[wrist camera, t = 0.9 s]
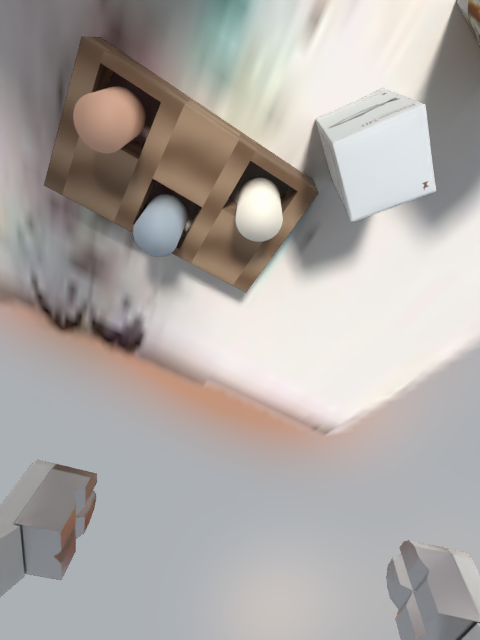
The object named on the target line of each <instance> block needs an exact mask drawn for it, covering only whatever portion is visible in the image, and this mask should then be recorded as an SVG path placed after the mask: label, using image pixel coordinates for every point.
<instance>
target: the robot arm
mask: <svg viewBox="0 0 480 640" xmlns="http://www.w3.org/2000/svg"><path fill="white" fill-rule="evenodd" d="M96 483H97V474H96V473H92V472H88V471H83V470H80V469H75V468H71V467H67V466H63V465H59V464H55V463H50V462H46V461H41V460H36V461H35V462H34V463H32V464H31V465H30V466H29V468H28V469H27V470H26V472H25V473H24V474H23V476H22V477H21V478H20V480H19V481H18V482H17V484H16V485H15V486H14V488H13V489H12V490H11V492H10V493H9V494H8V496H7V497H6V498H5V499H4V501H3V502H2V504H1V505H0V597H1V596H2V595H3V594H5V593H6V592H7V591H8V590H9V589H11V588H12V587H13V586H14V585H15V584H16V583H17V582H19V581H20V580H21V579H22V578H24V576H25V574H29V575H34V576H40V577H46V578H51V579H57V580H62V578H63V576H64V574H65V572H66V570H67V568H68V566H69V564H70V561H71V560H72V558H73V555H74V553H75V551H76V550H75V549H76V539H77V538H78V537H80V536H81V535H82V534H84V532H85V530H86V528H87V526H88V524H89V522H90V519H91V516H92V513H93V510H94V507H95V502H96V493H95V492H94V491H93V489H94V487H95V485H96ZM400 551H401V554H400V555H398V556H396V557H393V558H392V560H391V561H390V563H389V565H388V569H387V576H386V578H387V587H388V591H389V595H390V599H391V600H392V601H393V603H394V604H395V605H396V607H397V608H398V609H399V611H398V613H397V616H396V623H397V627H398V630H399V634H400V638H401V640H480V575H479V573H478V571H477V569H476V567H475V565H474V563H473V561H472V559H471V558H470V556H469V555H468V554H467V553H465V552H462V551H456V550H452V549H446V548H444V547H440V546H435V545H430V544H425V543H420V542H415V541H410V540H408V541H405V542H403V544H402V545H401V546H400Z"/></svg>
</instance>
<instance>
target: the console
mask: <svg viewBox="0 0 480 640" xmlns="http://www.w3.org/2000/svg"><path fill="white" fill-rule="evenodd" d="M113 71H114V72H115V73H117V74H118V75H120V76H121V77H123V78H124V79H126V80H127V81H129V82H130V83H132V84H134V85H135V86H137V87H138V88H140V89H141V90H143V91H144V92H146V93H147V94H149V95H150V96H152V97H154V98H155V99H157V100H158V101H160V102H161V104H160V106H159V109H158V112H157V114H156V117H155V119H154V122H153V124H152V127H151V129H150V132H149V134H148V137H147V139H146V142H145V144H144V146H142V145H141V144H139V143H137V142H136V141H134V140H131V141H130V142H129V143H127V144H126V145H125V146H123V147H122V148H121V149H119V150H118V151H116V152H113V153H100V152H97V151H95V150H93V149H91V148H90V147H89V146H87V145H86V144H85V143H84V142H83V140H82V139H81V138H80V136H79V135H78V133H77V131H76V128H75V125H74V120H73V112H74V108H75V105H76V103H77V101H78V100H79V99H80V98H81V97H82V96H84V95H86V94H89V93H92V92H96V91H99V90H103V89H106V88H108V86H109V82H110V79H111V76H112V73H113ZM250 161H252V162H253V163H255V164H256V165H258V166H259V167H261V168H263V169H264V170H266V171H267V172H269V173H270V174H272V175H273V176H275V177H276V178H278V179H279V180H281V181H283V182H284V183H286V184H287V185H289V186H290V187H289V189H288V190H287V192H286V193H285V194H284V196H283V197H282V199H281V208H282V216H283V222H282V226H281V228H280V230H279V232H278V233H277V234H276V235H275V236H274V237H273V238H271V239H269V240H266V241H262V242H256V241H251V240H249V239H247V238H245V237H244V236H243V235H242V234H241V233H240V232H239V230H238V228H237V226H236V220H235V219H236V211H237V204H238V203H236V202H235V201H233V200H231V199H230V198H229V197H230V195H231V193H232V191H233V190H234V188H235V186H236V185H237V183H238V181H239V179H240V178H241V176H242V174H243V173H244V171H245V169H246V167H247V166H248V164H249V162H250ZM155 181H158V182H159V183H161V184H163V185H165V186H166V187H168V188H170V189H171V190H173V191H175V192H177V193H178V194H180V195H182V196H183V197H185V198H187V199H189V200H190V201H192V202H194V203H195V204H197V205H199V206H200V208H199V210H198V212H197V214H196V216H195V217H194V219H193V221H192V223H191V225H190V227H189V229H188V230H187V232H186V233H184V232H182V235H181V237H180V239H179V242H178V244H177V246H176V248H175V250H174V251H173V252H172V254H174V255H176V256H178V257H180V258H182V259H184V260H186V261H188V262H189V263H191V264H193V265H195V266H197V267H199V268H201V269H203V270H205V271H206V272H208V273H210V274H212V275H214V276H216V277H218V278H220V279H221V280H223V281H225V282H227V283H229V284H231V285H233V286H235V287H237V288H238V289H240V290H242V291H244V292H247V291H248V289H249V288H250V286H251V285H252V284H253V282H254V281H255V280H256V278H257V277H258V275H259V274H260V273H261V271H262V270H263V269H264V267H265V266H266V265H267V263H268V262H269V260H270V259H271V258H272V256H273V255H274V254H275V252H276V251H277V250H278V248H279V247H280V245H281V244H282V243H283V241H284V240H285V239H286V237H287V236H288V235H289V233H290V232H291V230H292V229H293V228H294V226H295V225H296V224H297V222H298V221H299V219H300V218H301V217H302V215H303V214H304V213H305V211H306V210H307V209H308V207H309V206H310V204H311V203H312V202H313V200H314V199H315V198H316V196H317V195H318V194H319V193H318V190H317V188H316V185H315V183H314V181H313V180H312V179H310V178H309V177H307V176H306V175H304V174H303V173H301V172H300V171H298V170H297V169H295V168H294V167H292V166H291V165H289V164H288V163H286V162H285V161H284V160H282V159H281V158H279V157H278V156H276V155H275V154H273V153H272V152H270V151H269V150H267V149H266V148H264V147H263V146H261V145H260V144H258V143H257V142H255V141H254V140H252V139H251V138H249V137H248V136H246V135H245V134H243V133H242V132H240V131H239V130H237V129H236V128H234V127H233V126H231V125H230V124H228V123H227V122H225V121H224V120H222V119H221V118H219V117H218V116H216V115H215V114H213V113H212V112H210V111H209V110H208V109H206V108H205V107H203V106H202V105H200V104H199V103H197V102H196V101H194V100H193V99H191V98H190V97H188V96H187V95H185V94H184V93H182V92H181V91H179V90H178V89H176V88H175V87H173V86H172V85H170V84H169V83H167V82H166V81H164V80H163V79H161V78H160V77H158V76H157V75H155V74H154V73H152V72H151V71H149V70H148V69H146V68H145V67H143V66H142V65H140V64H139V63H137V62H136V61H135V60H133V59H132V58H130V57H129V56H127V55H126V54H124V53H123V52H121V51H120V50H118V49H117V48H115V47H114V46H112V45H111V44H109V43H108V42H106V41H105V40H103V39H102V38H100V37H81V41H80V45H79V49H78V53H77V57H76V61H75V65H74V69H73V73H72V77H71V81H70V85H69V89H68V93H67V97H66V101H65V105H64V108H63V112H62V116H61V120H60V124H59V128H58V132H57V136H56V140H55V144H54V148H53V152H52V156H51V160H50V164H49V168H48V172H47V176H46V180H45V184H44V186H46V187H48V188H50V189H52V190H54V191H56V192H57V193H59V194H61V195H63V196H65V197H67V198H69V199H71V200H73V201H74V202H76V203H78V204H80V205H82V206H84V207H86V208H88V209H90V210H91V211H93V212H95V213H97V214H99V215H101V216H103V217H105V218H106V219H108V220H110V221H112V222H114V223H116V224H118V225H120V226H122V227H123V228H125V229H127V230H129V231H131V232H133V228H134V225H135V223H136V221H137V220H138V218H139V217H140V216H141V214H142V213H143V211H144V210H143V208H144V206H145V204H146V202H147V199H148V197H149V195H150V193H151V190H152V188H153V186H154V184H155Z"/></svg>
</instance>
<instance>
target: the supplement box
mask: <svg viewBox="0 0 480 640" xmlns="http://www.w3.org/2000/svg"><path fill="white" fill-rule="evenodd" d="M315 120H316V124H317V127H318V131H319V135H320V138H321V142H322V146H323V149H324V153H325V156H326V160H327V164H328V167H329V170H330V174H331V177H332V181H333V183H334V185H335V188H336V190H337V192H338V194H339V196H340V199H341V201H342V203H343V205H344V207H345V209H346V211H347V213H348V216H349V219H350V221H351V222H354V221H357V220H360V219H363V218H365V217H368V216H371V215H373V214H376V213H379V212H381V211H384V210H387V209H390V208H393V207H396V206H398V205H401V204H403V203H406V202H409V201H412V200H414V199H417V198H420V197H423V196H425V195H428V194H431V193H434V192H436V184H435V177H434V169H433V162H432V155H431V147H430V138H429V130H428V121H427V113H426V106H425V104H423V103H420V102H418V101H415V100H413V99H410V98H408V97H405V96H403V95H400V94H398V93H395V92H392V91H390V90H387V89H385V88H381V89H379V90H377V91H375V92H373V93H371V94H369V95H367V96H365V97H363V98H361V99H359V100H357V101H355V102H352V103H350V104H348V105H346V106H343V107H341V108H339V109H337V110H334V111H332V112H330V113H327V114H325V115H322V116H320V117H317V118H316V119H315Z"/></svg>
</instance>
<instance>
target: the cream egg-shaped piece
mask: <svg viewBox="0 0 480 640" xmlns="http://www.w3.org/2000/svg"><path fill="white" fill-rule="evenodd" d="M235 220H236V226H237V228H238V230H239V232H240V233H241V234H242V235H243V236H244V237H245V238H247V239H249V240H251V241H256V242H262V241H266V240H269V239H271V238H273V237H274V236H275V235H276V234H277V233H278V232H279V230H280V228H281V226H282V222H283V216H282V208H281V199H280V193H279V190H278V188H277V186H276V185H275V184H274V183H273V182H272V181H270V180H269V179H266V178H254V179H251V180H249V181H247V182H246V183H245V184H244V185H243V186H242V188H241V190H240V193H239V197H238V204H237V211H236V219H235Z"/></svg>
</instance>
